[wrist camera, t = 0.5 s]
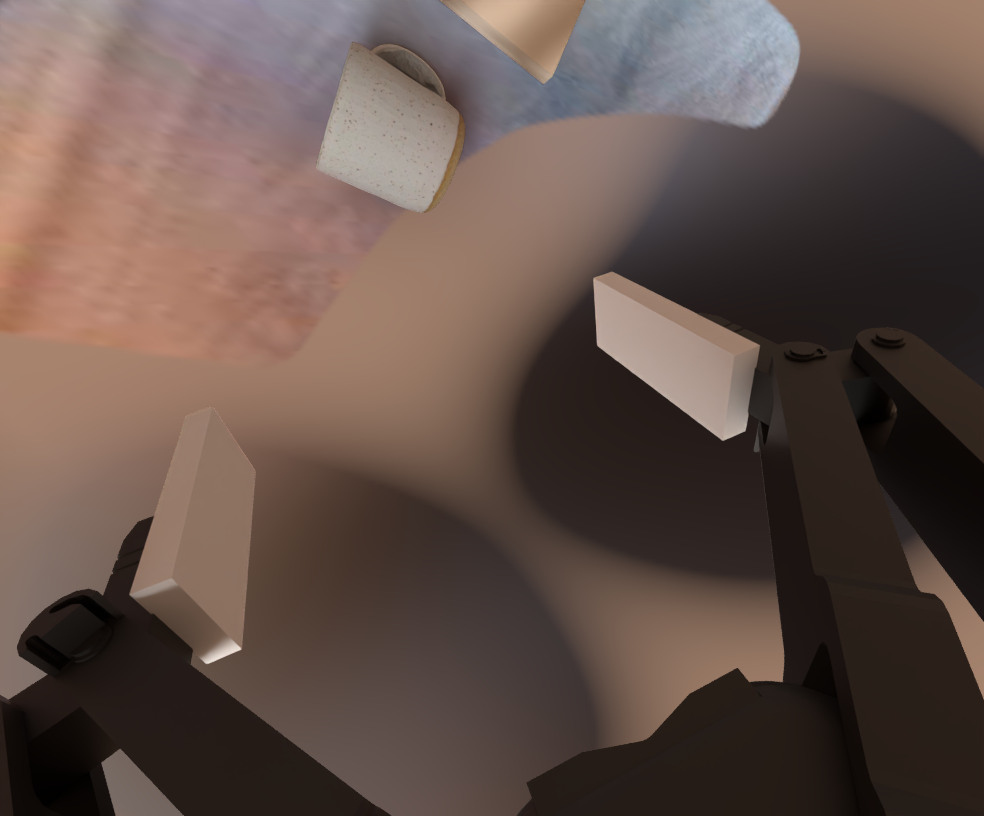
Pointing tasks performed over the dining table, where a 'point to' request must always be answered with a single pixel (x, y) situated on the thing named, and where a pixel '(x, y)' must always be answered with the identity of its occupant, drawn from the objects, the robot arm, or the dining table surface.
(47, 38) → the dining table surface
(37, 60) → the dining table surface
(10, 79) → the dining table surface
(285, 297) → the dining table surface
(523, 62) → the birch board
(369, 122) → the ceramic mug
